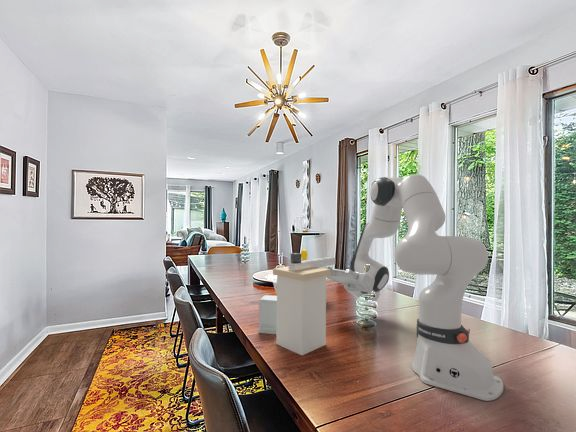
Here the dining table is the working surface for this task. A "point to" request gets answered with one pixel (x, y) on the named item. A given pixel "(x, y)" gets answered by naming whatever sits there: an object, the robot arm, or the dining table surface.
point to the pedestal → (301, 308)
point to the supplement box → (268, 314)
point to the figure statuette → (304, 255)
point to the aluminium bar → (308, 262)
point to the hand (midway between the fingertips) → (337, 269)
